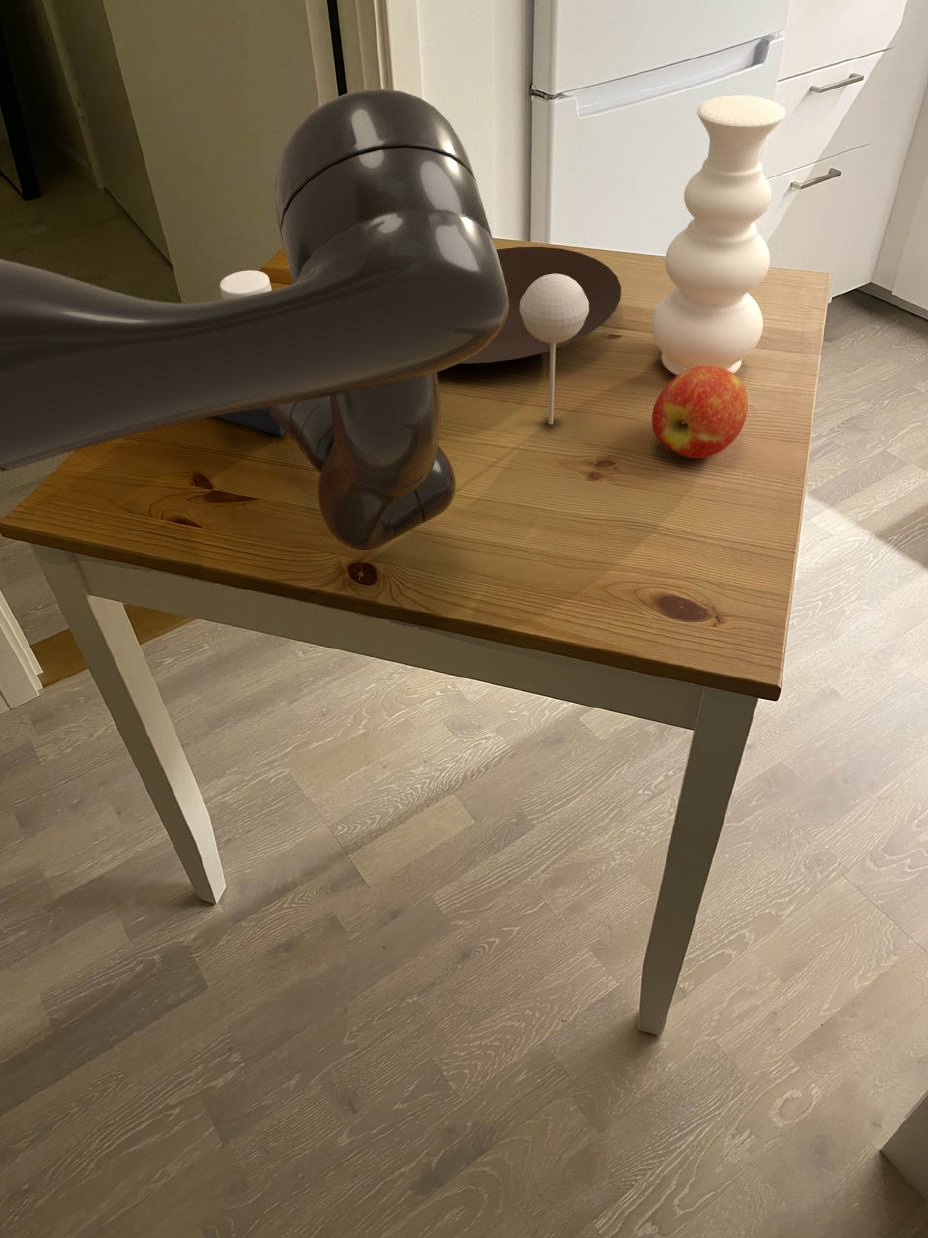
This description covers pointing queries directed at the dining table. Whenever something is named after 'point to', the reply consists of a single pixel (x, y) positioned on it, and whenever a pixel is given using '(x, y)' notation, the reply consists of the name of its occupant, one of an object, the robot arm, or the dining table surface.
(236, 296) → the pill bottle
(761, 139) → the vase
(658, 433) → the apple
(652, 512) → the dining table surface
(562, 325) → the lollipop
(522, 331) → the plate
